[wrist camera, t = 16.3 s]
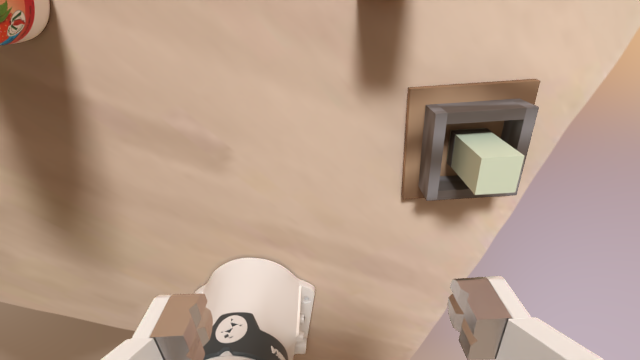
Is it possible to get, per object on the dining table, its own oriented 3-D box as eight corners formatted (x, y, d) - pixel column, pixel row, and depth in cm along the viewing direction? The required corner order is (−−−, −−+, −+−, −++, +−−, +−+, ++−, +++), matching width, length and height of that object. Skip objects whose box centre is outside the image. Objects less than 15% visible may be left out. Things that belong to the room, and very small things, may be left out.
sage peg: (485, 127, 38) (525, 155, 31) (479, 159, 40) (515, 192, 32) (450, 129, 38) (481, 158, 31) (446, 161, 40) (474, 195, 33)
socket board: (508, 188, 43) (528, 207, 39) (401, 195, 43) (410, 214, 39) (534, 78, 36) (561, 87, 32) (408, 87, 36) (419, 97, 32)
